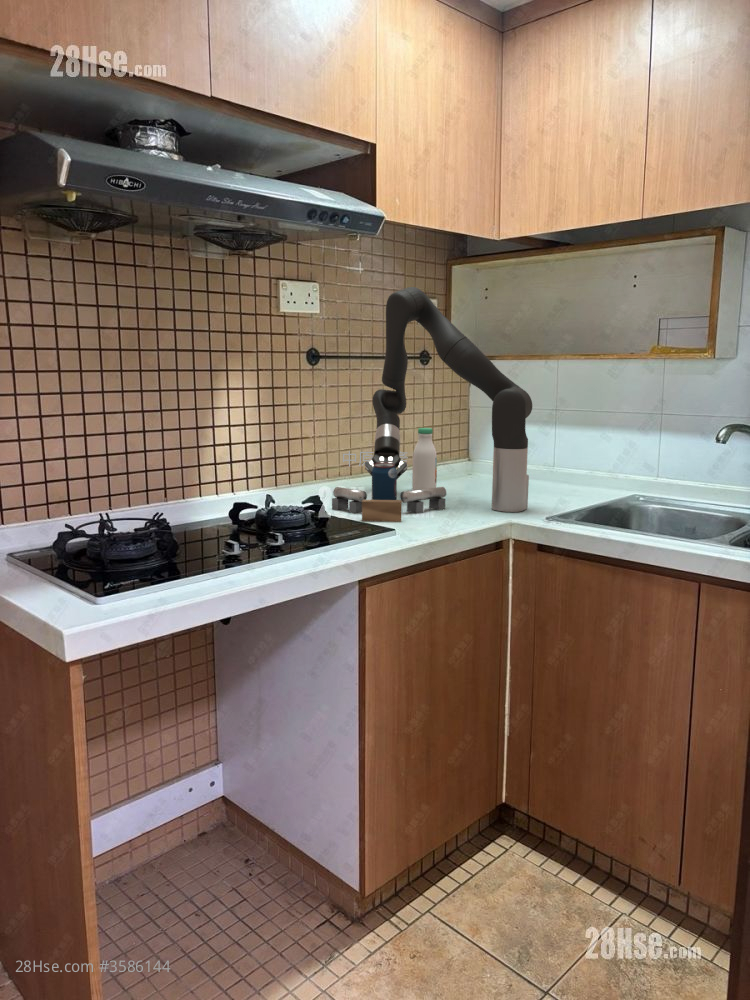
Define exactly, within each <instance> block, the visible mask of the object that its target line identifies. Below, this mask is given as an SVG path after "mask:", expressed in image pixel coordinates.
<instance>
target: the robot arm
mask: <svg viewBox="0 0 750 1000" xmlns="http://www.w3.org/2000/svg"><path fill="white" fill-rule="evenodd" d="M411 322H417V323H418V324H419V325H421V327H423V329H424V330H426V331H427V333H428V334H429V336H430V337H431V339H432V341H433V344H434V348H435V351H436V353H437V355H438V357H439V358H440V360H441V361H442V362H443V363H444V364H445V365H446V366H448V368H449V369H451V371H453V372H454V373H455V374H456V375H457V376H458V377H460V378H462V379H463V380H465V381H466V382H467V383H469V384H471V385H472V386H474V387H476V388H477V389H479V390H481V392H483V394H485V395H486V396H487V397H488V398H489V399H490V400H491V401H492V406H491V407H492V408H491V436H492V440H493V454H492V455H493V456H492V457H493V458H492V459H493V460H492V482H491V483H492V484H491V485H492V486H491V510H494V511H497V512H507V513H516V512H517V513H518V512H523V510H524V511H525V510H527V508H529V505H528V504H529V485H530V484H529V483H530V481H529V480H530V475H529V474H528V472H527V471H528V452H529V451H528V449H529V439H528V436H527V432H526V419H527V418H528V417H529V416H530V415H531V413H532V411H533V401H532V398H531V396H530V394H529V393H528V392H527V390H525V389H524V388H522V387H520V386H519V385H518V384H516V383H515V382H514V381H513V380H511V379H510V378H509V377H508V376H506V375H505V374H503V372H502V371H500V369H498V367H496V365H495V364H494V363H493V362H492V361H491V360H490V359H489V358H488V357H487V355H485V354H484V353H483V351H482V350H480V349H479V347H478V346H476V345H475V343H474V342H472V341H471V339H470V338H468V337H467V336H466V335H465V334H464V333H463V332H461V331H460V330H459V329H458V327H456V326H455V325H454V324H453V323H452V322H451V321H450V320H449V318H447V316H445V315H444V314H443V313H442V311H440V309H439V308H438V307H437V305H435V304H434V303H433V301H432V300H431V299H430V298H429V296H428V295H427V294H426V293H425V292H424V291H423V290H421V289H420V288H419V287H415V286H409V287H404V288H401V289H399V290H396V291H394V292H392V293H391V294H390V295H389V296H388V297H387V301H386V305H385V356H384V363H383V369H382V376H381V382H382V384H383V385H384V386H386V387H387V388H390V390H389V389H383V388H381V389H377V390H376V391H375V392H374V393H373V394H372V400H371V401H372V406H373V409H374V414H375V418H376V430H375V435H374V448H373V449H374V450H373V456H372V458H371V460H370V461H365V462H364V467H365V468H364V469H365V470H366V471H367V472H368V473H369V475H370V476H371V477H372V469H373V467H374V464H375V463H381V462H388V463H393V464H395V468H396V470H397V480H398V479H399V478H401V476H402V475H404V473H405V472H406V471H407V470H408V462H403V461H402V459H401V457H400V455H401V454H400V449H401V434H400V428H401V427H400V425H401V419H400V416H399V415H400V414H403V412H404V411H405V410H406V408H407V397H406V396H407V395H406V389H405V386H406V385H405V384H406V383H405V381H406V376H407V372H408V371H407V370H408V365H409V364H408V363H409V361H408V353H407V350H406V346H405V332H406V328H407V326H408V323H411ZM391 389H393V390H391Z"/></svg>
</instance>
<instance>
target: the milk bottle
mask: <svg viewBox="0 0 750 1000" xmlns="http://www.w3.org/2000/svg"><path fill="white" fill-rule="evenodd" d="M433 433H434V432H433V428H432V427H419V428H417V436H418V437H417V438H418V439H417V443H416V444H415V446H414V449H413V453H412V473H411V474H412V479H411V480H412V481H411V483H412V485H411V486H412V488H411V490H420V489H428V488H436V487H437V480H438V479H437V474H438V473H437V469H438V466H437V465H438V464H437V462H438V458H437V455H438V454H437V450H436V447H435V445H434V442H433V438H432V436H433Z"/></svg>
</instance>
